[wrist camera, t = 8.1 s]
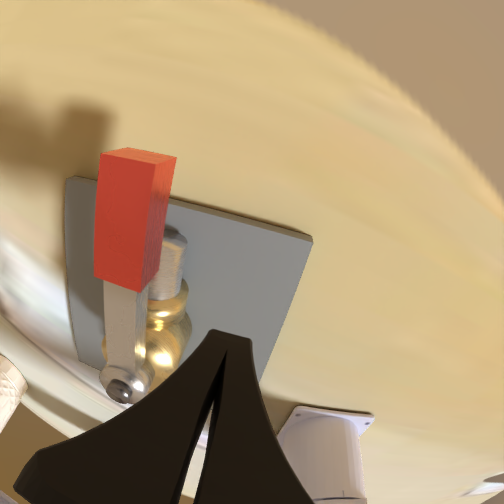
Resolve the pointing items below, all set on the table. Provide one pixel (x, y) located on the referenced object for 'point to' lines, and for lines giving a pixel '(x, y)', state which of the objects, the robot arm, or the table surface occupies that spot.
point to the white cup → (9, 389)
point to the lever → (129, 260)
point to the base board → (194, 274)
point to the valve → (166, 311)
